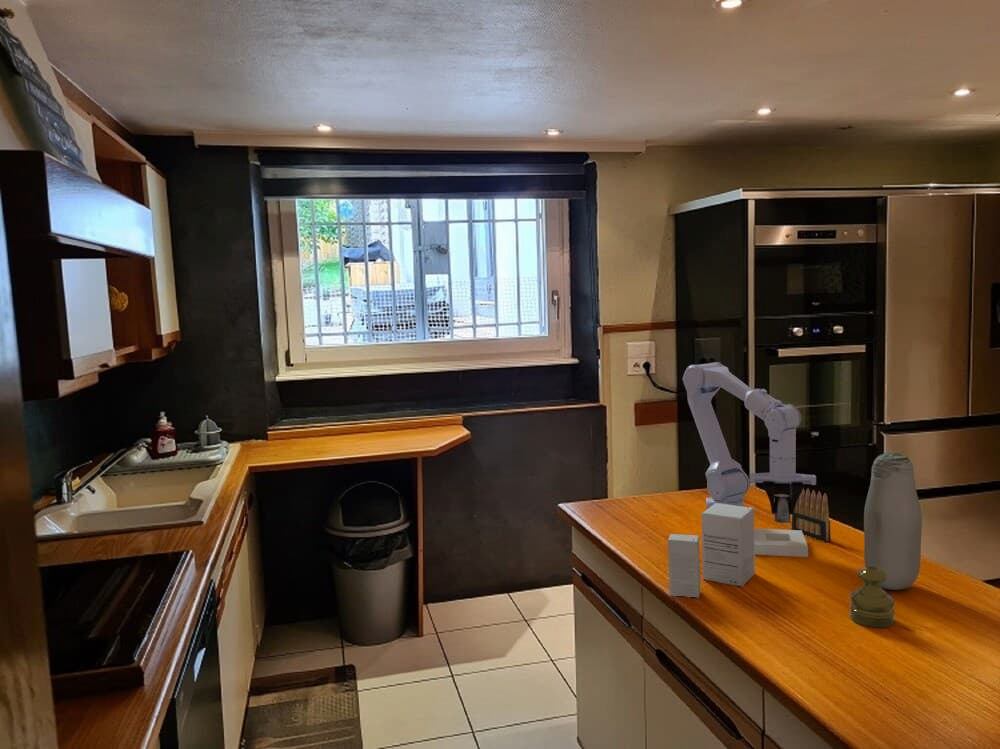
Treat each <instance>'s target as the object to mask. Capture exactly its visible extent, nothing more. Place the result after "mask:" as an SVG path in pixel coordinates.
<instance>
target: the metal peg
mask: <svg viewBox="0 0 1000 749" xmlns="http://www.w3.org/2000/svg"><path fill="white" fill-rule="evenodd" d="M774 501H775V514H774V521H775V523H780V524H788V523H790V522H791V514H790V495H788V494H783V493H779V494H775V500H774Z"/></svg>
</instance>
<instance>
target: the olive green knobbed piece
mask: <svg viewBox="0 0 1000 749" xmlns="http://www.w3.org/2000/svg"><path fill="white" fill-rule="evenodd" d="M857 576H858V577H859V578H860V579H861V580H862V581H863V585H861V587H859V588H858V589H855V590H853V591H852V592H851V593H850V595H849V600H850V602H851V604H850V605H849V609H850V611H849V612H850V614H849V615H850V616H849V617H850V619H851V620H852V621H853V622H855V623H857V624H859V625H861V626H864V627H869V628H877V629H880V628H881V629H883V628H889V627H891V626H893V625H894V623H895V610H894V609H893V608H895V599H894V598H893V596H892V595H890V594H889V593H887V592H886V590H885V589H884V588H882V587H881V586H880V584H881V583H882V582H883V581H885V580H886V579H887V574H886V573H885V572H883V571H881V570H879V569H877V568H876V567H867V568H866V567H864V568H862V569H858V570H857Z"/></svg>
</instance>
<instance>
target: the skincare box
mask: <svg viewBox="0 0 1000 749" xmlns="http://www.w3.org/2000/svg"><path fill="white" fill-rule="evenodd" d="M667 548H668V550H667V552H668V554H667V555H668V584H669V585H668V586H669V587H668V588H669V593H668V594H669V596H670V597H677V596H687V597H686V598H690V597H697V598H696V599H700V595H701V565H700V561H701V559H700V537H699V535H695V534H693V535H691V534H690V535H688V534H675V533H670V535H669V537H668V539H667Z"/></svg>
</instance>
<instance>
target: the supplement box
mask: <svg viewBox="0 0 1000 749" xmlns="http://www.w3.org/2000/svg"><path fill="white" fill-rule="evenodd" d="M754 529H755V508H754V507H750V506H749V507H748V506H743V507H742V506H734V505H728V504H721V503H715V504H714V505H712V506H711V507H710V508H708V509H707V510H704V511H703V512H702V513H701V548H702V550H701V551H702V552H701V553H702V555H701V556H702V557H701V559H702V561H701V562H702V566H701V567H702V580H704V579H705V580H704V581H709V580H710V582H714V581H715V582H716V583H720V584H727V585H730V586H732V585H733V586H737V587H742V588H743V587H744V585H745V584H746V583H748V581H749V580H750V579H751V578H752V577H753V576H754V575H755V574H756V570H755V569H756V566H755V565H756V564H755V559H756V558H755V549H754Z"/></svg>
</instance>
